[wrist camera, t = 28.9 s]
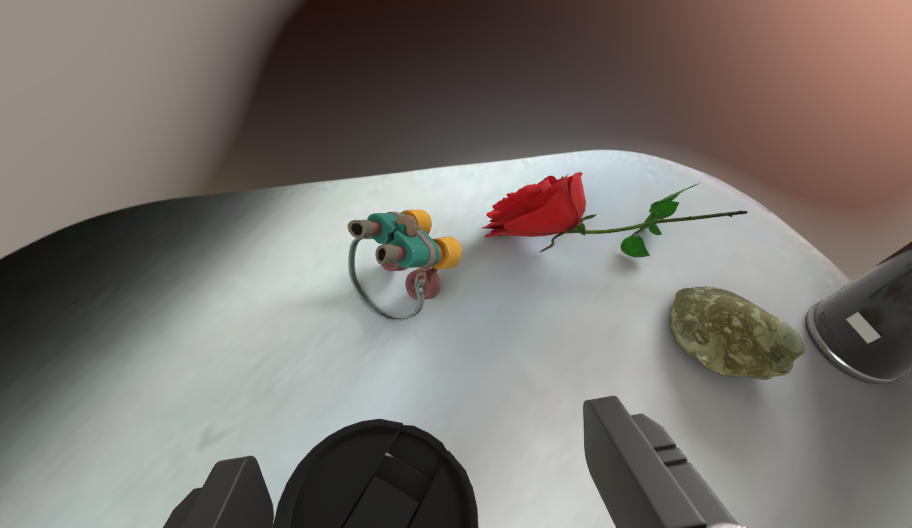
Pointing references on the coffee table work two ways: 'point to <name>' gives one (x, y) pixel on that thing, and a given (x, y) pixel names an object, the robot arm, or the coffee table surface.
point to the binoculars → (405, 252)
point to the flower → (571, 213)
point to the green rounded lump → (733, 334)
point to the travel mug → (378, 482)
